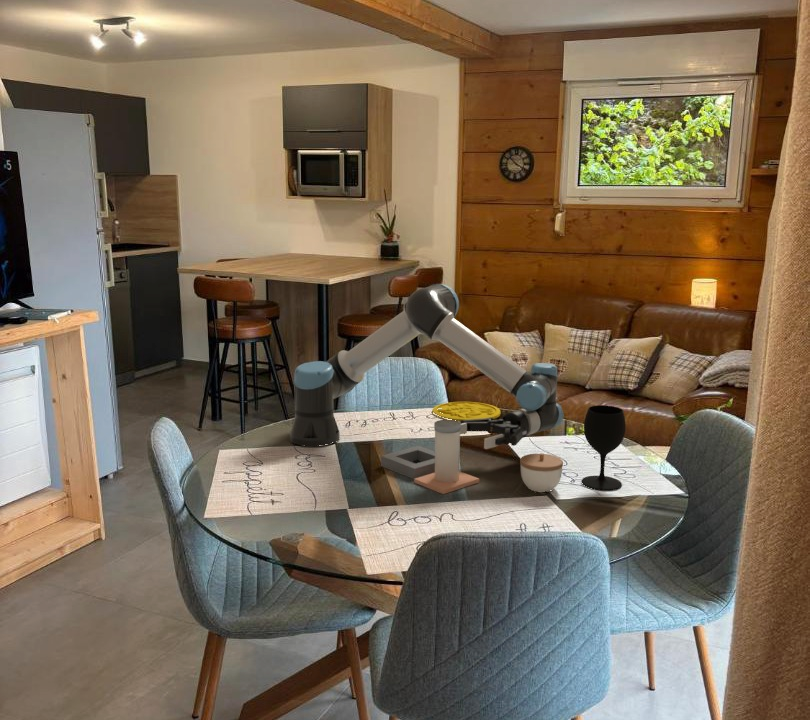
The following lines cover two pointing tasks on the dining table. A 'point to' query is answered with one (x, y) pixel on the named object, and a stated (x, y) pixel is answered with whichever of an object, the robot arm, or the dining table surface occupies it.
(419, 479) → the rubber mat
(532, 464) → the lidded jar
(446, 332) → the robot arm
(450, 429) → the filter cartridge
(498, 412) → the decorative medallion
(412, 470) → the frame
